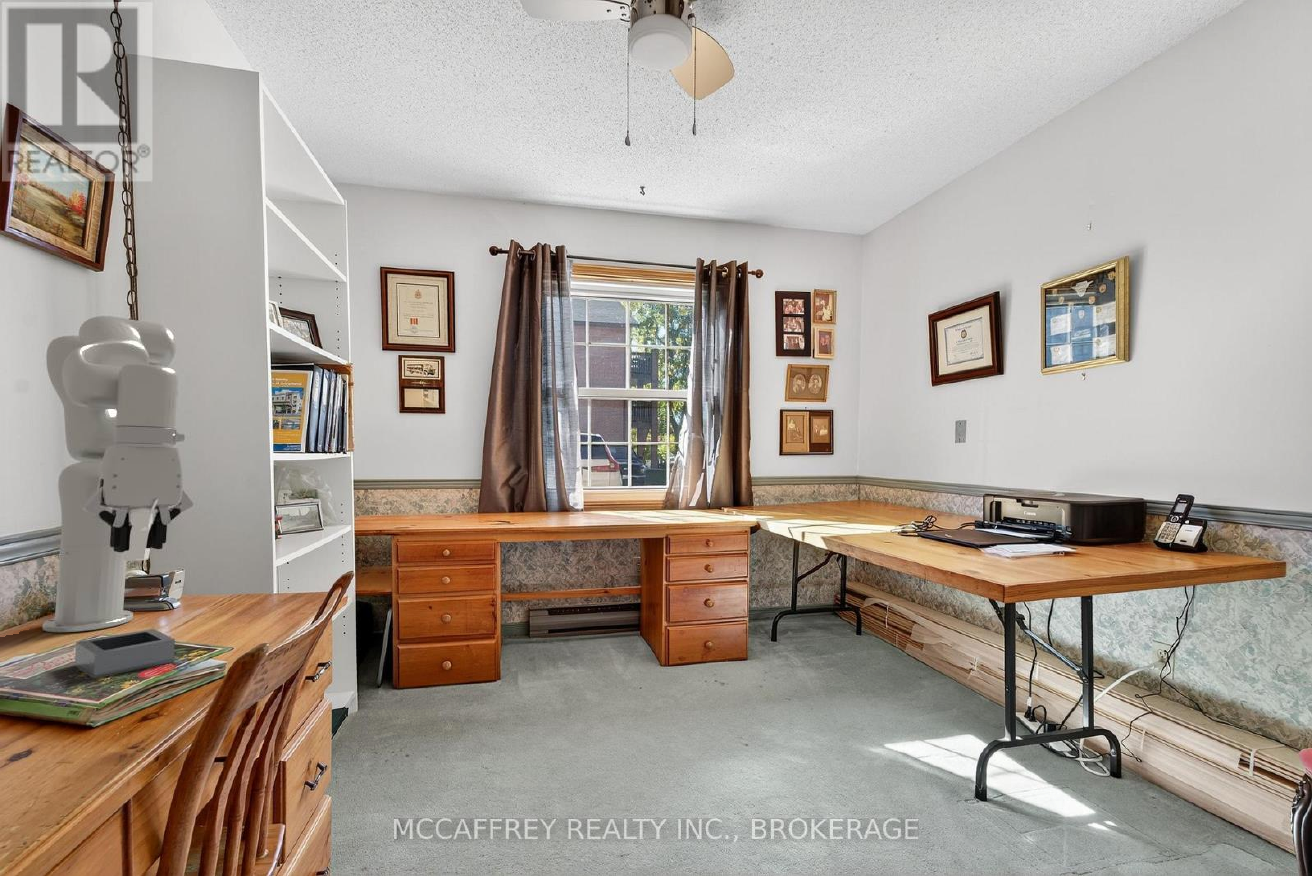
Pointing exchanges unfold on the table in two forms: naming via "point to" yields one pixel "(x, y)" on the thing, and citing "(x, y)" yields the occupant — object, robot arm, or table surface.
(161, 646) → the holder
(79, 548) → the robot arm
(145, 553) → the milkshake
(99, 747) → the table surface
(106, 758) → the table surface
